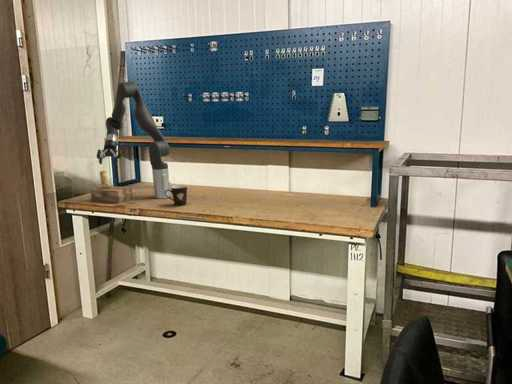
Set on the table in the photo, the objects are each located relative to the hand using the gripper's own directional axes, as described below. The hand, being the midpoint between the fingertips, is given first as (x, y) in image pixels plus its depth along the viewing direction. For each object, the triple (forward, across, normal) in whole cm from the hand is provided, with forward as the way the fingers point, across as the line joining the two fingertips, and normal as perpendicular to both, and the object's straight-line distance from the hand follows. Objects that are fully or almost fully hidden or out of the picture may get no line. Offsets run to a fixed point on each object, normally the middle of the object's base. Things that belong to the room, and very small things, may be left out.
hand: (107, 163), depth 251 cm
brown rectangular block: (+23, +4, +6) cm, 24 cm away
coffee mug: (+38, +45, -8) cm, 59 cm away
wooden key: (+20, 0, +5) cm, 20 cm away
